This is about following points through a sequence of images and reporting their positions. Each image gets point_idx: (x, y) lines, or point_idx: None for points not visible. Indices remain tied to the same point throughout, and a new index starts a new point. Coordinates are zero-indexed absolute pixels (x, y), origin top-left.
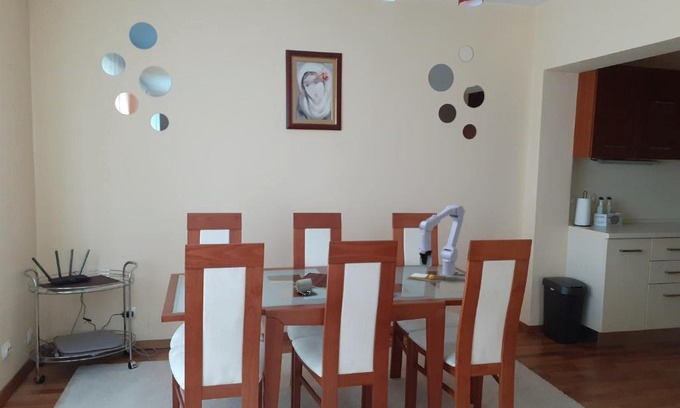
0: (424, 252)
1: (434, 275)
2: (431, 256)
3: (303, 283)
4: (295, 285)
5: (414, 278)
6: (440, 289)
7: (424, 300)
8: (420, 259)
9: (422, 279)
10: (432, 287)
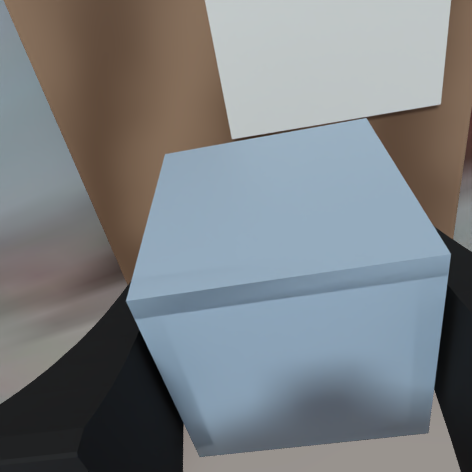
0: None
1: (442, 171)
2: (398, 429)
3: None
4: None
5: (126, 17)
6: (11, 352)
7: None
8: (144, 263)
9: (152, 138)
10: (10, 295)
